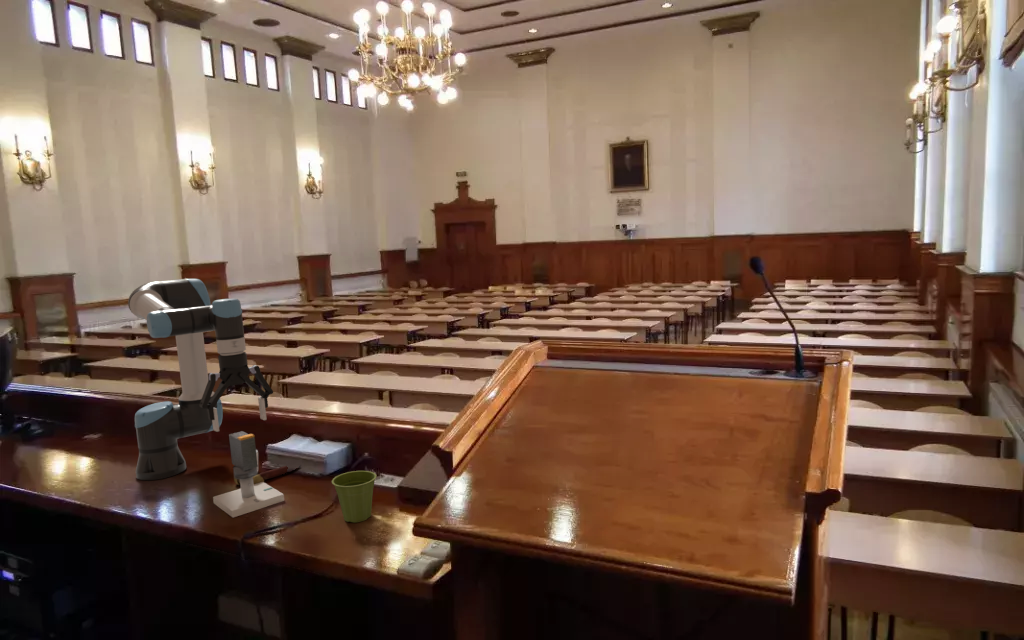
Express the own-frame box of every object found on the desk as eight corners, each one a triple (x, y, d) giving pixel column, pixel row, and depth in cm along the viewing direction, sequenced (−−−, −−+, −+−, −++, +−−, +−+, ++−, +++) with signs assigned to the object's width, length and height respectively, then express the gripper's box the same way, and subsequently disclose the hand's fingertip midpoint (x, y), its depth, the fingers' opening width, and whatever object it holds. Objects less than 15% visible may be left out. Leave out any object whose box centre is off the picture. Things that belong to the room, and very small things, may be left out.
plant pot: (388, 515, 180) (385, 475, 178) (352, 531, 171) (348, 490, 170) (362, 504, 188) (359, 467, 186) (326, 519, 179) (323, 480, 178)
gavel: (291, 456, 224) (309, 461, 218) (292, 469, 225) (309, 475, 218) (233, 472, 208) (250, 478, 202) (234, 486, 208) (250, 492, 202)
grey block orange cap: (229, 474, 194) (224, 433, 192) (250, 468, 198) (246, 428, 197) (240, 482, 188) (236, 439, 186) (262, 475, 192) (258, 434, 190)
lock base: (213, 503, 194) (210, 477, 193) (263, 487, 205) (260, 463, 203) (232, 517, 184) (229, 490, 182) (284, 500, 194) (281, 474, 193)
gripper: (190, 361, 177) (199, 438, 179) (279, 347, 194) (287, 416, 196) (181, 359, 182) (190, 433, 185) (269, 344, 199) (276, 412, 202)
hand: (240, 424), depth 191 cm, fingers open, 13 cm apart
